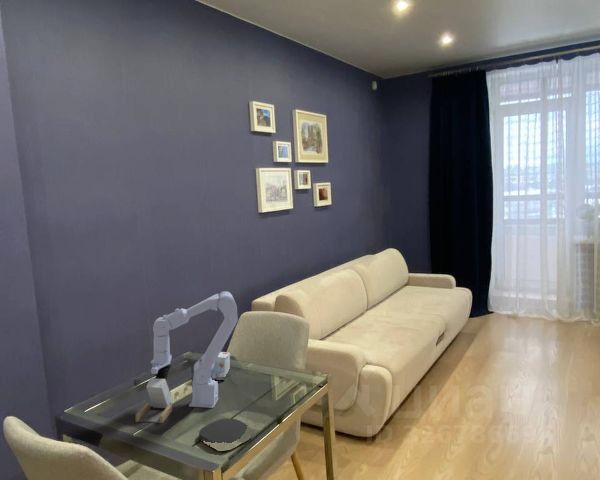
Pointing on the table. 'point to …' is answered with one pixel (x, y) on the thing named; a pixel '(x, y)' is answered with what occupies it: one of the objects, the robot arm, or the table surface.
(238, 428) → the media streaming box
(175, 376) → the table surface
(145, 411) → the cradle
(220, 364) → the light bulb box
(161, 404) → the skincare box
